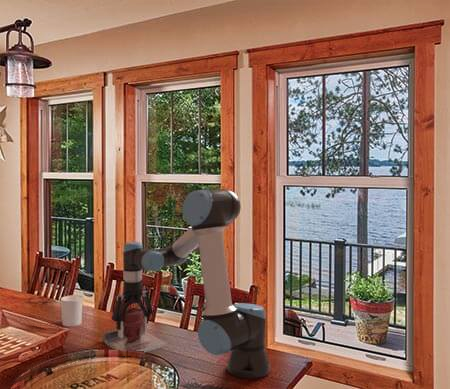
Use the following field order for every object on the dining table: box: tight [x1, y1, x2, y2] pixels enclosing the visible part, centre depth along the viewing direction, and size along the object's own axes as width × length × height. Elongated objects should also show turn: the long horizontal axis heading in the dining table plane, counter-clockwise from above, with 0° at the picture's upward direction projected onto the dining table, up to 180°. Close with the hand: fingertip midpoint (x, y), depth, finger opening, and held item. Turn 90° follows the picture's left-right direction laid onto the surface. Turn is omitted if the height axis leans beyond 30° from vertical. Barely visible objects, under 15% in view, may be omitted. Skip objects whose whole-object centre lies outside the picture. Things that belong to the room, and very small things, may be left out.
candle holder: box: [60, 294, 84, 327], centre depth 204 cm, size 10×10×12 cm
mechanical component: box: [121, 307, 145, 341], centre depth 181 cm, size 12×10×10 cm
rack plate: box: [102, 325, 167, 353], centre depth 180 cm, size 20×18×4 cm
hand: (132, 334), depth 181 cm, fingers closed on mechanical component, 10 cm apart
